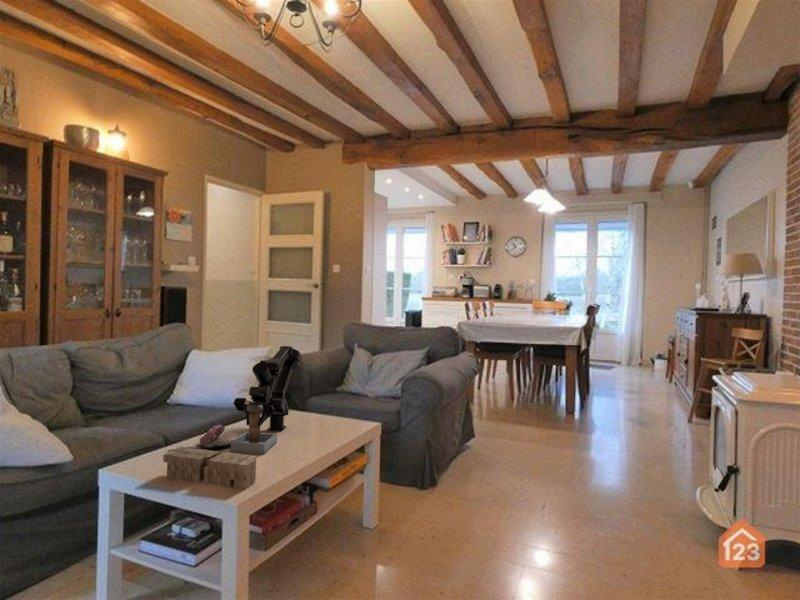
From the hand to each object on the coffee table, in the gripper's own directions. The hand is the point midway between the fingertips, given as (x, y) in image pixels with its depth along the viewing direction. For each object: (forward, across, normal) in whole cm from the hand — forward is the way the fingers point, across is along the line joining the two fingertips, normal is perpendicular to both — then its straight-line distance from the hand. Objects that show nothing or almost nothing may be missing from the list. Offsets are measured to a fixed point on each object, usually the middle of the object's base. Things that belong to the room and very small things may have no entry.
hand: (253, 425), depth 178 cm
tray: (+5, 0, +7) cm, 9 cm away
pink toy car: (+2, -19, +11) cm, 22 cm away
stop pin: (+4, 0, +6) cm, 7 cm away
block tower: (+27, -1, -14) cm, 30 cm away
